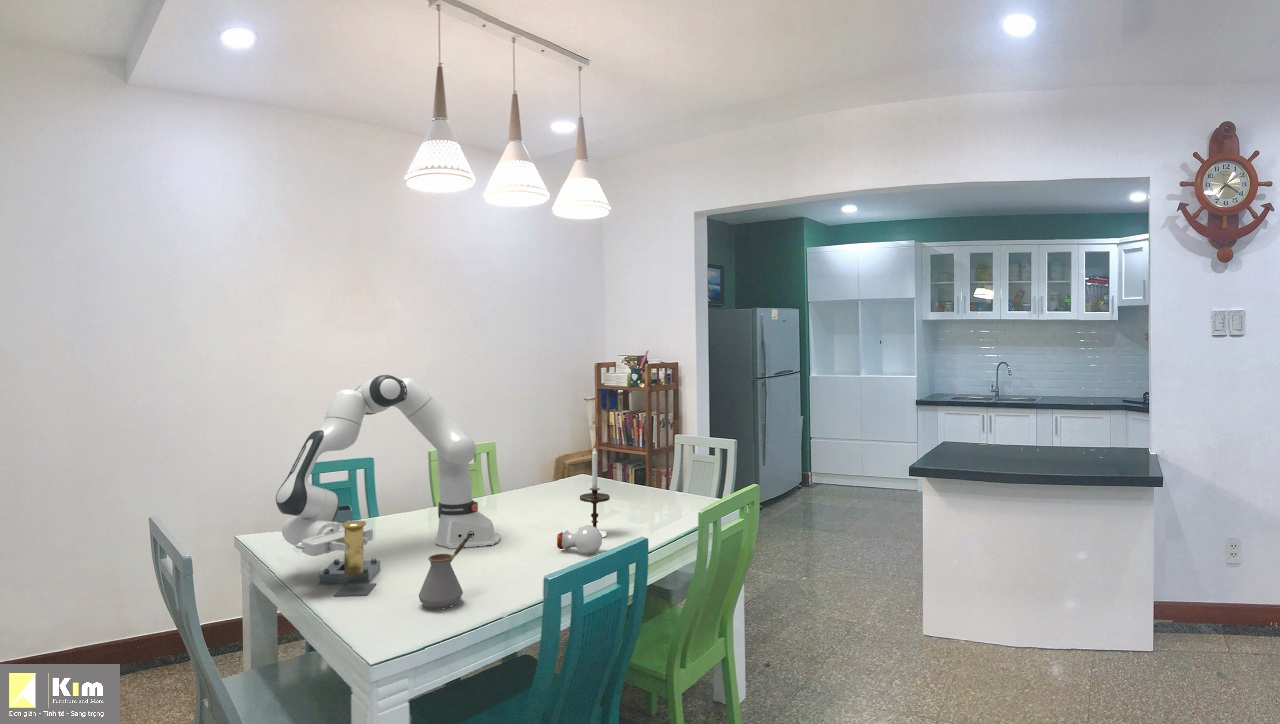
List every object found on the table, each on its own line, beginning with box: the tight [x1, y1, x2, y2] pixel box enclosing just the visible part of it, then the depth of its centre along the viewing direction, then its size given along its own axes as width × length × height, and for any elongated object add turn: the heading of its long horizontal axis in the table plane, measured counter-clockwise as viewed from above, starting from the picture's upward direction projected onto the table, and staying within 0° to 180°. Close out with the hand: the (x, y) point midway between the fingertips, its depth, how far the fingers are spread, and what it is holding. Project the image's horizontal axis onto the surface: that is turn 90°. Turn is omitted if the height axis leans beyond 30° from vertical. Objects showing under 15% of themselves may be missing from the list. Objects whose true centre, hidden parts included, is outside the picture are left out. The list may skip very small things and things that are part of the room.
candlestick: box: [579, 439, 611, 529], centre depth 259 cm, size 11×11×35 cm
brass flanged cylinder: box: [342, 520, 367, 575], centre depth 202 cm, size 6×6×14 cm
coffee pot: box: [418, 535, 474, 610], centre depth 196 cm, size 21×12×15 cm, turn 163°
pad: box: [333, 582, 377, 598], centre depth 202 cm, size 9×9×1 cm
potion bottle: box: [556, 524, 603, 556], centre depth 238 cm, size 9×10×15 cm
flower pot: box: [333, 504, 353, 522], centre depth 262 cm, size 9×9×9 cm
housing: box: [318, 558, 381, 585], centre depth 213 cm, size 14×12×4 cm
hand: (356, 544), depth 201 cm, fingers closed on brass flanged cylinder, 5 cm apart
